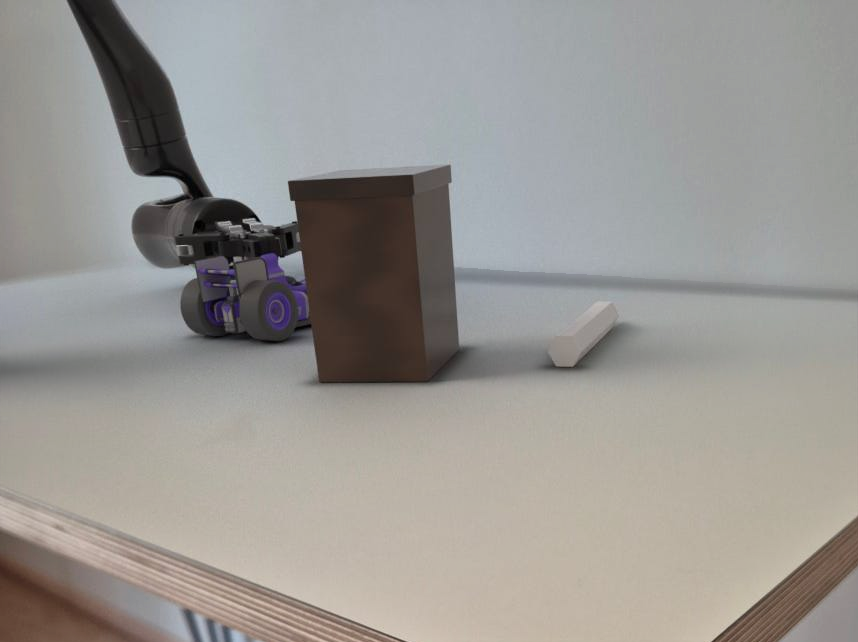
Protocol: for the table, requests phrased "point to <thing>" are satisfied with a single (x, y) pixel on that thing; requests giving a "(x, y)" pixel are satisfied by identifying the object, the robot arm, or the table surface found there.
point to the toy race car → (244, 299)
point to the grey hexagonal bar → (583, 334)
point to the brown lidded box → (378, 271)
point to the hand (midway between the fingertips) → (269, 249)
